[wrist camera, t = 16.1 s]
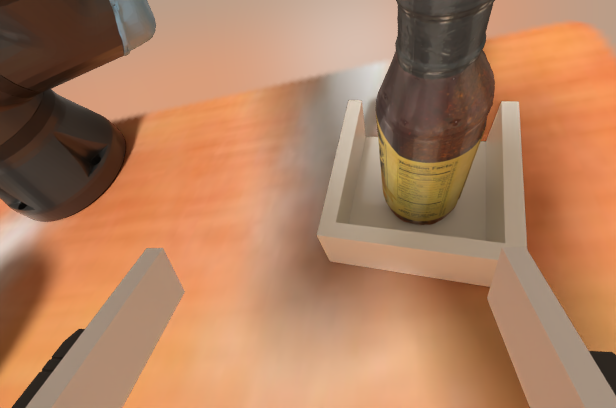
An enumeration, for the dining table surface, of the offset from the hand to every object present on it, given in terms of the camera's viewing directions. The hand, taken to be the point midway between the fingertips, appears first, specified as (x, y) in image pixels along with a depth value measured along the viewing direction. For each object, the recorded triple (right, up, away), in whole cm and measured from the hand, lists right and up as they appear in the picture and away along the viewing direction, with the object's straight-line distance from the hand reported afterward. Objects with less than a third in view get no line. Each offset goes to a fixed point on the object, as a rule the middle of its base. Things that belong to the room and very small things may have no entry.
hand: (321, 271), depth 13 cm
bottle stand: (+9, +3, +17) cm, 19 cm away
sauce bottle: (+9, +3, +16) cm, 19 cm away
